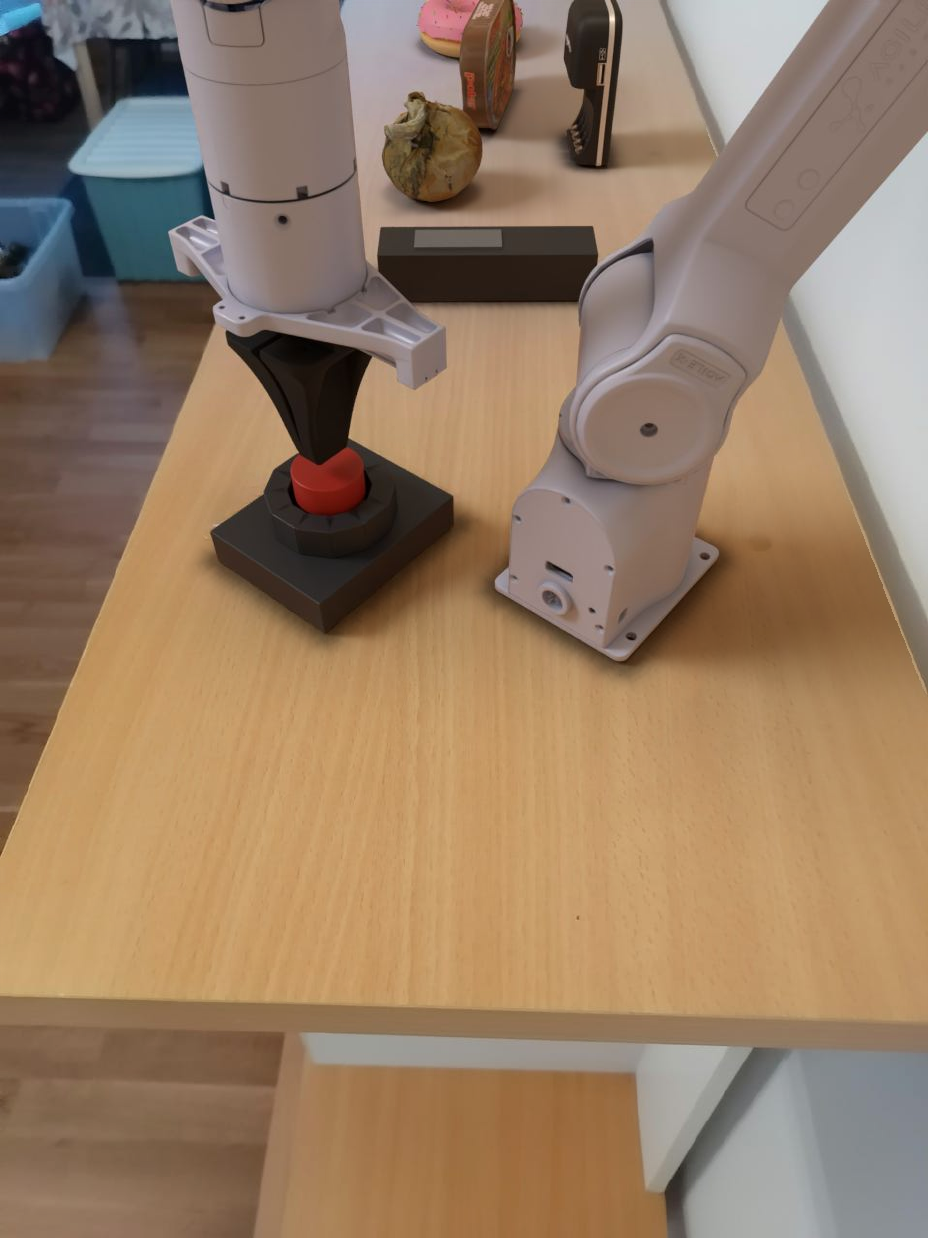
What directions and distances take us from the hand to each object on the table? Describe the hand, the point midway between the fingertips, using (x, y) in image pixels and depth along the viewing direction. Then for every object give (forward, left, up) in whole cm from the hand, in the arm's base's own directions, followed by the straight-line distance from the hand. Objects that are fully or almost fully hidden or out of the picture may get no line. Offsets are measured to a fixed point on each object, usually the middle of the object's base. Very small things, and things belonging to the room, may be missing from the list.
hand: (323, 450), depth 46 cm
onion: (+34, +22, -6) cm, 41 cm away
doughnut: (+62, +41, -6) cm, 75 cm away
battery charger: (+48, +17, -6) cm, 52 cm away
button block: (0, 0, -6) cm, 6 cm away
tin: (+50, +29, -7) cm, 58 cm away
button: (0, 0, -3) cm, 3 cm away
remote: (+26, +10, -6) cm, 28 cm away
